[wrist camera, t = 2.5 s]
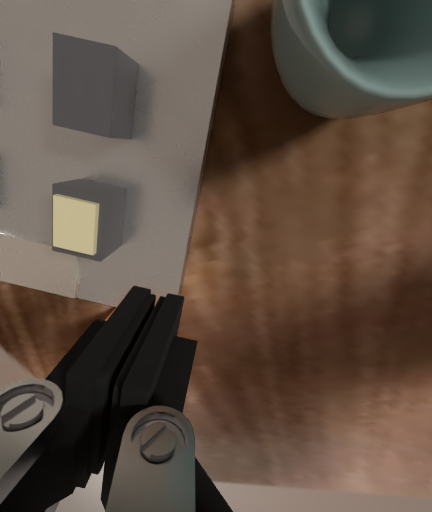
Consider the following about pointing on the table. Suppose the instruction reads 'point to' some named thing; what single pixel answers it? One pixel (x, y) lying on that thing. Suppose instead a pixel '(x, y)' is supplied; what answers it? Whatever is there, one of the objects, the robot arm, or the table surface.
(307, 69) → the cup
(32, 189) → the panel
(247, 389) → the table surface
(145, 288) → the robot arm
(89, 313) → the table surface
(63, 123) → the toggle
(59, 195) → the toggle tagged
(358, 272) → the table surface
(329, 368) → the table surface
